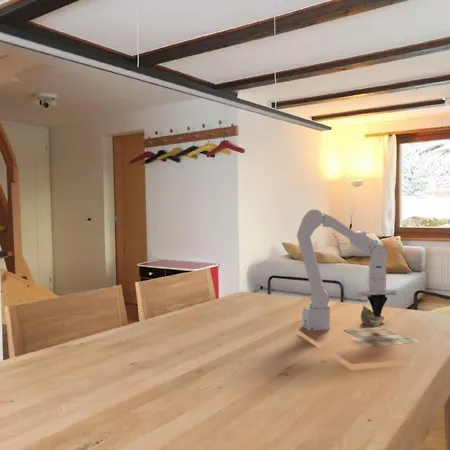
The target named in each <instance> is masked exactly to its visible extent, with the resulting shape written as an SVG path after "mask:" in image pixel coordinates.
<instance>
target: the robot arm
mask: <svg viewBox="0 0 450 450" xmlns="http://www.w3.org/2000/svg"><path fill="white" fill-rule="evenodd" d="M321 225H322V227H323V228H331V229H333V230H334V231H335V232H337V233H339V234H341V235H342V236H344V237H345V238H348V239H349V242H350V245H351V246H353V247H355V248H356V249H357V250H359V251H361V253H364V254H365V255H368V256H369V266H368V272H369V273H368V274H369V275H368V289H362V290H357V295H356V296H357V297H359V298H363V297H367V300H368V302H369V303H370V307H371V309H372V310H371V311H372V312H373V314H374V316H376V317H380V315H381V314H382V311H383V309H384V307H385V304H386V302H387V300H388V297H387V296H398V289H395V288H387V258H388V256H389V253H388V249H387V248H386V247H385V246H384V245H382V244H381V243H380V242H379V241H378V240H377V239H374V238H372V237H370V236H369V235H367V232H365V231H361V230H357V231H354V230H353V229H351V228H349V227H348V226H346V225H345V224H343V223H342V222H341V221H339V220H338V219H337V218H335V217H333V216H331V215H329V214H328V213H324V212H322V211H321V210H319V209H316V208H315V209H314V208H313V209H310V210H308V211H307V212H306V213H305V215H304V216H303V217H302V219H301V222H300V225H299V228H298V230H297V233H296V237H297V241H298V245H299V248H300V252H301V255H302V261H303V264H304V266H305V267H304V268H305V271H306V275H307V278H308V282H309V287H310V291H311V294H310V295H311V296H310V302H311V303H310V304H309V306H308V307H304V308H303V309H302V312H301V315H302V316H301V318H302V319H301V320H302V321H301V326H302V328H303V329H306V330H307V331H326V330H329V329H330V328H331V327H330V325H331V319H330V318H331V306H330V304H329V302H330V301H329V300H330V297H329V291H328V289H327V288H326V287H325V285H324V283H323V279H322V275H321V271H320V268H319V265H318V260H317V257H316V253H315V249H314V245H313V242H312V239H311V236H312V235H313V233H314V232H315V230H316V229H317V228H319V227H320V226H321ZM381 316H382V315H381Z"/></svg>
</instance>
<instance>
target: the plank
mask: <svg viewBox="0 0 450 450" xmlns="http://www.w3.org/2000/svg"><path fill="white" fill-rule="evenodd" d="M343 331H344V332H346V333H348V334H350V335H351V336H354V338H357V337H371V336H385V335H396V333H394V332H392V331H390V329H389V330H388V329H387V328H385V327H383V326H381V327H380V326H379V327H375V328H373V327H362V328H351V329H348V328H347V329H343Z"/></svg>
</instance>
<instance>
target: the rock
mask: <svg viewBox="0 0 450 450" xmlns="http://www.w3.org/2000/svg"><path fill="white" fill-rule="evenodd" d="M384 319H385V317H384V316H383V315H380V317H376V316H374V314H373V310H370V309H369V308H368V307H366V306H365V305H364V306H363V307H362V310H361V314H360V320H361V324H364V325H366V326H367V327H369V328H376V327H380V326H381V325H382V322H384Z"/></svg>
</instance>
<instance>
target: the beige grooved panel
mask: <svg viewBox="0 0 450 450" xmlns="http://www.w3.org/2000/svg"><path fill="white" fill-rule="evenodd" d="M350 339H352V340H353V341H355V342H357V343H359V344H361V345H363V346H364V347H366V348H367V347H377V346H378V347H379V346H392V345H404V344H414V343H415V344H417V343H421V341H420V340H418V339H416V338H413V337H411V336H408V335H406V334H404V333H401V334H400V333H399V334H395V335H382V336H368V337H351V338H350Z"/></svg>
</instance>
